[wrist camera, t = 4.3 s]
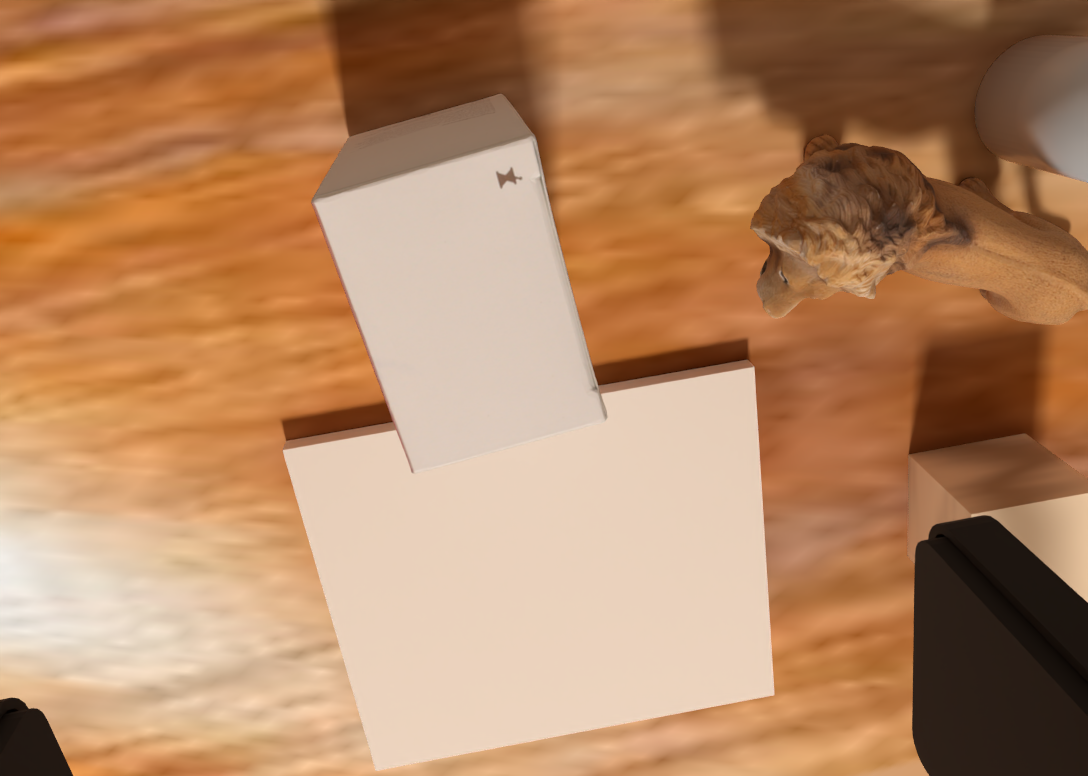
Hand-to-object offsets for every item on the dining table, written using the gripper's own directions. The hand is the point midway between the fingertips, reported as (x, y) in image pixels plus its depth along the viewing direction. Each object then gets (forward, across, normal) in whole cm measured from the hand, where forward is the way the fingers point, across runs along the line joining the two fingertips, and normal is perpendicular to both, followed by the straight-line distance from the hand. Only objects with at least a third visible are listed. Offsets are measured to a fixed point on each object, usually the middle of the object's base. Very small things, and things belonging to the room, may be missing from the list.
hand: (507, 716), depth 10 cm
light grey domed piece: (+24, -21, -1) cm, 32 cm away
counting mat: (+24, -1, +15) cm, 29 cm away
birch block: (+25, -19, +15) cm, 35 cm away
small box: (+25, 0, 0) cm, 25 cm away
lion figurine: (+25, -15, +2) cm, 29 cm away
